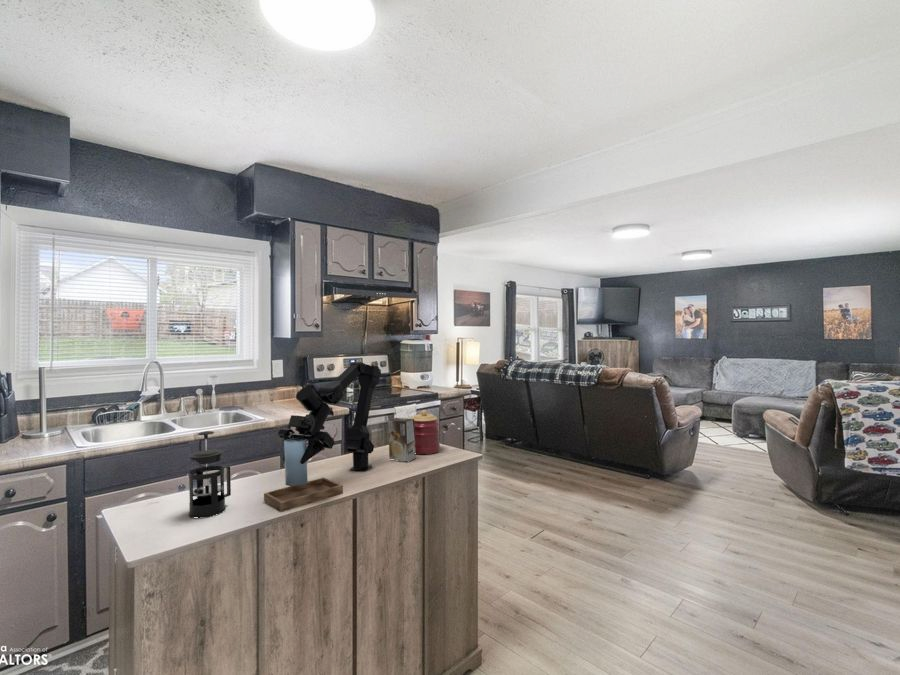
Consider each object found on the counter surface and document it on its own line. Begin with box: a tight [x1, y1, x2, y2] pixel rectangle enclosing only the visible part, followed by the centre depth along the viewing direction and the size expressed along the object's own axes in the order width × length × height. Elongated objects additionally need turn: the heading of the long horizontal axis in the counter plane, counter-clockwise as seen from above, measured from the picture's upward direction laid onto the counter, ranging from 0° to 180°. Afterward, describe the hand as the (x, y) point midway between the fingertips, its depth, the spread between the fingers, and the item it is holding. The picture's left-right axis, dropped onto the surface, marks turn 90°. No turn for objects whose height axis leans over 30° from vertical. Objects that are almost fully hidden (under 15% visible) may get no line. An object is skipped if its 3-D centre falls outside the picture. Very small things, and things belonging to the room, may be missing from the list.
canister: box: [410, 409, 441, 455], centre depth 191 cm, size 13×13×18 cm
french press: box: [187, 430, 232, 519], centre depth 129 cm, size 12×9×23 cm
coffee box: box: [387, 417, 416, 462], centre depth 180 cm, size 9×6×16 cm
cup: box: [283, 438, 308, 487], centre depth 137 cm, size 6×6×13 cm
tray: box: [263, 477, 344, 513], centre depth 139 cm, size 20×12×2 cm, turn 135°
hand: (292, 462), depth 136 cm, fingers closed on cup, 6 cm apart
